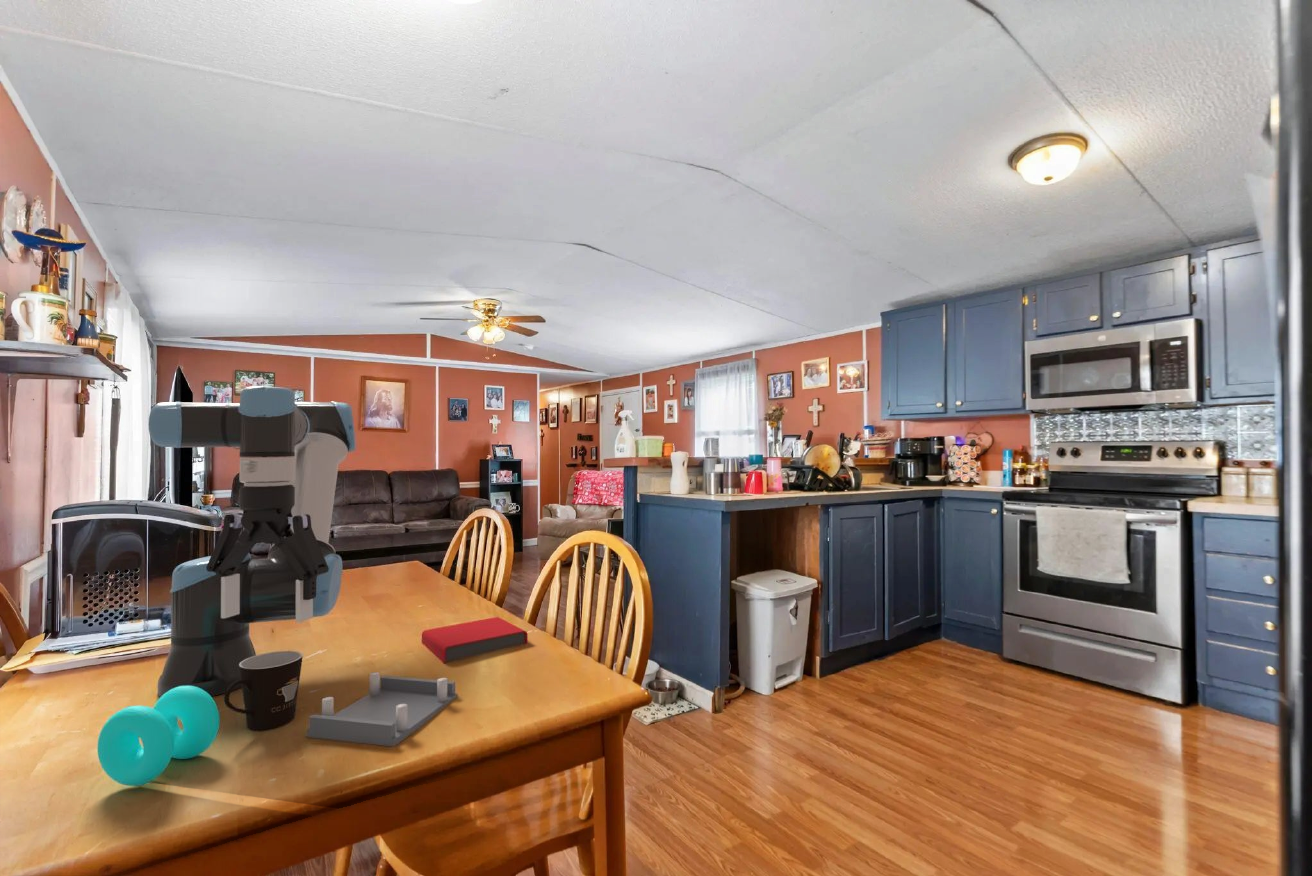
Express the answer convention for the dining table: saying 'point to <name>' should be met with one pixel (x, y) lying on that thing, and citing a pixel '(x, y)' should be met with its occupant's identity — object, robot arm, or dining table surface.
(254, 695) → the coffee mug
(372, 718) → the pin tray
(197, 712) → the donuts
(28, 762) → the dining table surface
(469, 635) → the red device housing
